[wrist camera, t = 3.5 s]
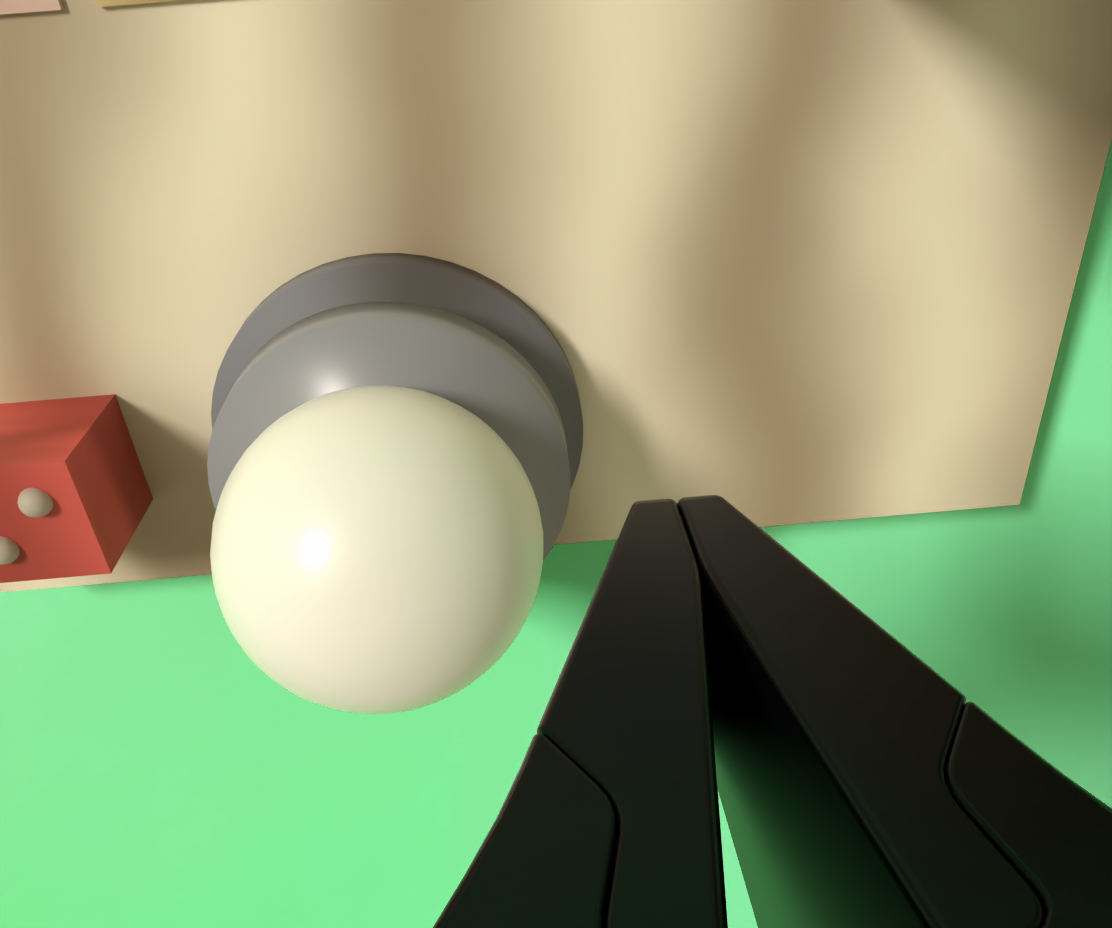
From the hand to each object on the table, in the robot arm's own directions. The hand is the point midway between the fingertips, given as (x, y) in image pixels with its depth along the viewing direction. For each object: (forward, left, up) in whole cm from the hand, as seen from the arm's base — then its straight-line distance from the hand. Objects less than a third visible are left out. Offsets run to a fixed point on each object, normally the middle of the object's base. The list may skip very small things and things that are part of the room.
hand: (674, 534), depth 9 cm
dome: (+4, +4, -9) cm, 10 cm away
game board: (+2, -1, -11) cm, 12 cm away
